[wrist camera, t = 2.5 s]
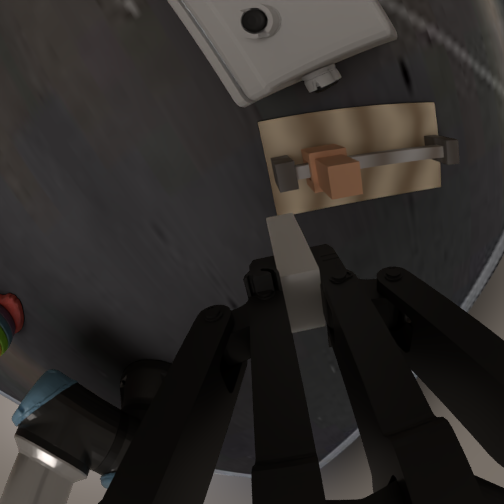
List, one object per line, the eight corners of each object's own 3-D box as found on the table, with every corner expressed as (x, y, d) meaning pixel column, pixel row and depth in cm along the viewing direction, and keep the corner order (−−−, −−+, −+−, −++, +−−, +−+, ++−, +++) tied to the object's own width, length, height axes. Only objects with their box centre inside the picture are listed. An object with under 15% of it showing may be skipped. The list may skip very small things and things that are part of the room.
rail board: (277, 214, 40) (283, 233, 34) (257, 122, 35) (260, 123, 29) (436, 184, 38) (462, 197, 32) (429, 102, 33) (457, 103, 27)
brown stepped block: (307, 184, 35) (327, 207, 27) (300, 149, 33) (320, 161, 25) (339, 178, 35) (368, 199, 27) (334, 143, 33) (363, 154, 25)
